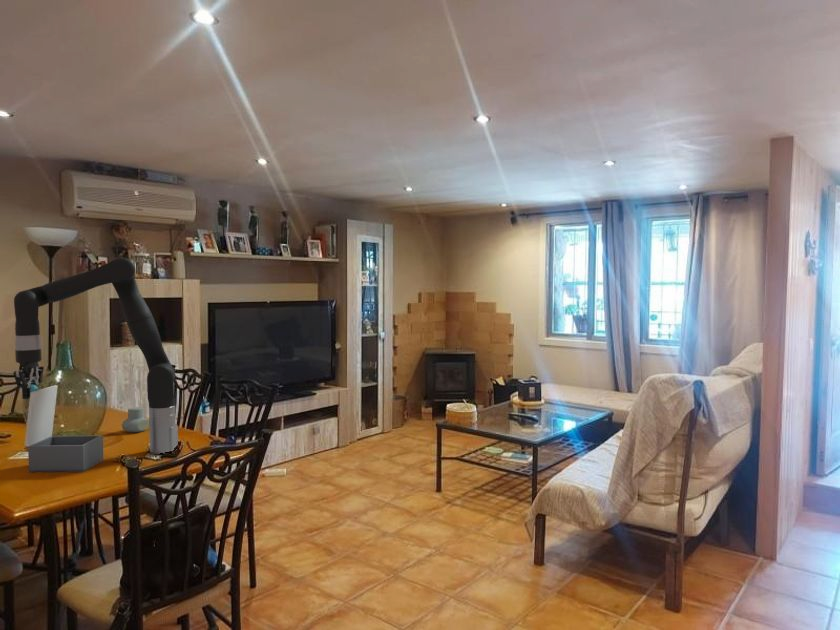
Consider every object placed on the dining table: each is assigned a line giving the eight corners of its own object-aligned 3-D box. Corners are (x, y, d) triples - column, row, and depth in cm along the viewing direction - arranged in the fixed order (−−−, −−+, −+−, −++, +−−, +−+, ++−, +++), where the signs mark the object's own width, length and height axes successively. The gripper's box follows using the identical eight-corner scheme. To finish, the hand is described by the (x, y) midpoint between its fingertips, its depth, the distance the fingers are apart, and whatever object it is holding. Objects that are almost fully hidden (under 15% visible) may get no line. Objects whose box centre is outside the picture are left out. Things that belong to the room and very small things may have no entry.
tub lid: (57, 383, 214) (39, 380, 214) (33, 390, 200) (14, 387, 200) (51, 435, 215) (33, 433, 215) (27, 446, 201) (7, 444, 200)
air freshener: (136, 427, 266) (136, 405, 266) (152, 428, 264) (152, 406, 264) (118, 433, 256) (118, 410, 255) (135, 434, 254) (134, 411, 253)
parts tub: (103, 459, 216) (102, 435, 216) (83, 471, 202) (82, 445, 202) (52, 460, 215) (51, 436, 215) (28, 472, 201) (28, 446, 201)
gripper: (26, 350, 199) (28, 401, 200) (51, 346, 214) (52, 393, 214) (3, 350, 199) (5, 401, 200) (29, 346, 213) (31, 394, 214)
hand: (30, 397), depth 207 cm, fingers closed on tub lid, 3 cm apart
